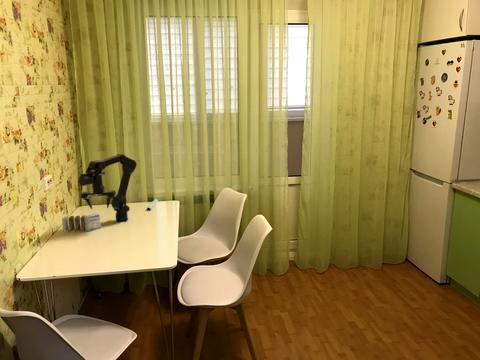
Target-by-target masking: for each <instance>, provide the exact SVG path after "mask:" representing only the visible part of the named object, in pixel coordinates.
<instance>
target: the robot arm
mask: <svg viewBox="0 0 480 360" xmlns="http://www.w3.org/2000/svg"><path fill="white" fill-rule="evenodd" d="M117 163H119V164H121V169H122V174H121V175H122V176H121V180H120V183H119V187H118V189H117V192H116V190H113V189H112V190H108V191H106V186H105V185H104V182H103V175H105V174H106V172H104V170H105V169H106V168H107V167H108V166H112V165H114V164H117ZM137 165H138V163H137V161H136V160H135V159H132V158H130V157H128V156H127V155H125V154H123V153H122V154H121V153H117V154H116V155H112V156H109V157H106V158H104V159H97V160H91V161H89V163H88V166H87V168H86V170H85V173H81V174H80V176H79V178H78V184H79V185H80V186H81V187H85V186H89V185H92V186H91V187H92V192H90V191H83V192H82V193H81V194H80V199H83V200H84V201H86V203H87V204H88V206H89V208H90V210H92V209H93V205H92V199H91V198H92V197H101V196H103V197H104V196H105V197H106V208H107V209H109V207H110V203H111V207H112V209H113V210H114V212H115V211H116V213H115V220H116V221H115V222H116V223H122V222H127V221H128V220H129V215H128V212H130V209H131V208H130V206H129V205H127V199H126V195H127V191H128V188H129V183H130V180H131V176H132V174H133V173H134V172H135V170H136V168H137ZM116 193H117V194H116ZM111 199H112V200H111Z"/></svg>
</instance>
